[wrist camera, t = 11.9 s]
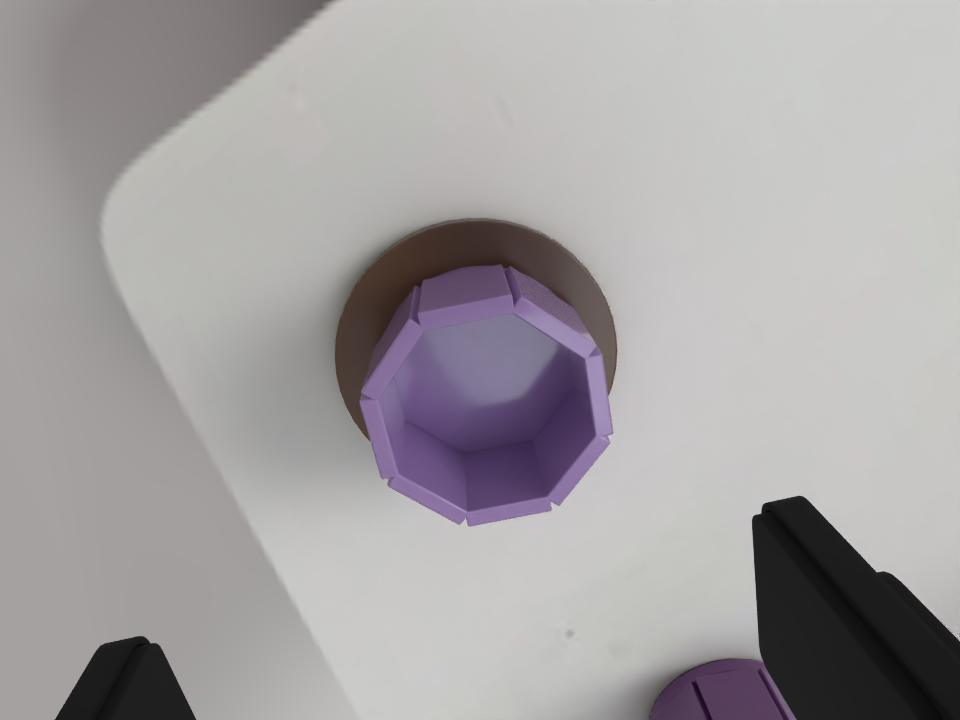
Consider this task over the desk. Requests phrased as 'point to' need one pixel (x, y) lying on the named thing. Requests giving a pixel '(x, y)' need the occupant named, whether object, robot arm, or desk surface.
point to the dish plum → (723, 694)
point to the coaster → (450, 251)
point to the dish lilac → (485, 396)
